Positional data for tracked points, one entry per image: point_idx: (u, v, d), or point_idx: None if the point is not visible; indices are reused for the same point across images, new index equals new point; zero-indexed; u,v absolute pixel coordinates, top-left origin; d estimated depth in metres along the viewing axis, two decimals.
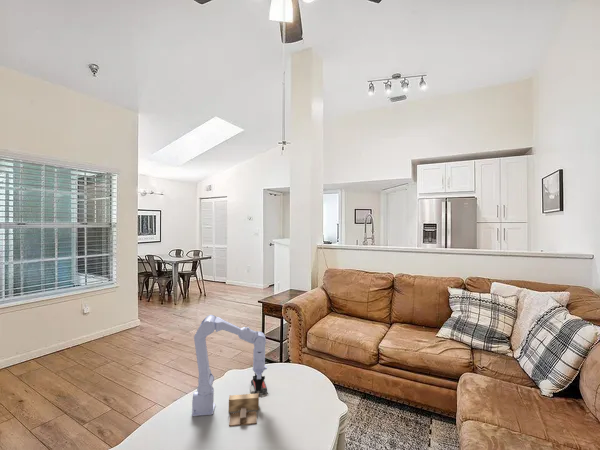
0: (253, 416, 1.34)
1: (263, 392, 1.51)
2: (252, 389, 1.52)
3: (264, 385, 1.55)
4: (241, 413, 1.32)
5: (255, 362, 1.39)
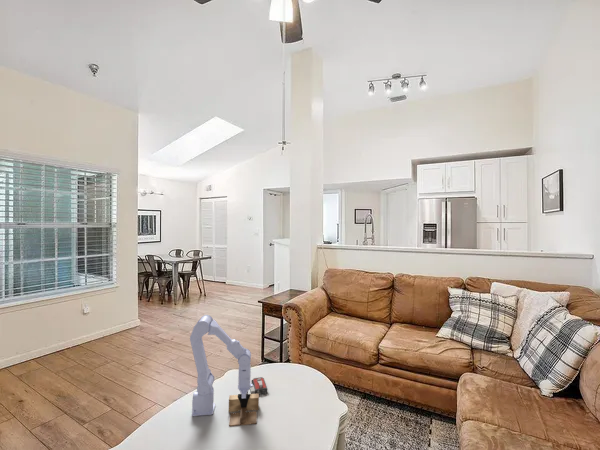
0: (253, 416, 1.34)
1: (263, 392, 1.51)
2: (252, 389, 1.53)
3: (264, 385, 1.55)
4: (241, 413, 1.32)
5: (240, 380, 1.37)
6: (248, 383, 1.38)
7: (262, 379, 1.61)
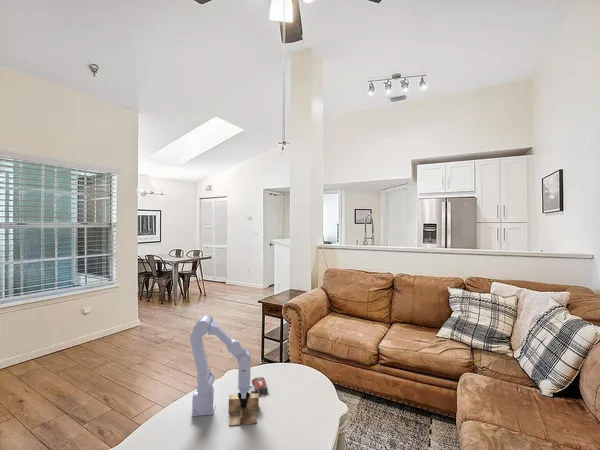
0: (253, 416, 1.34)
1: (263, 392, 1.52)
2: (252, 389, 1.53)
3: (265, 385, 1.55)
4: (241, 413, 1.32)
5: (240, 381, 1.37)
6: (248, 383, 1.38)
7: (262, 379, 1.61)
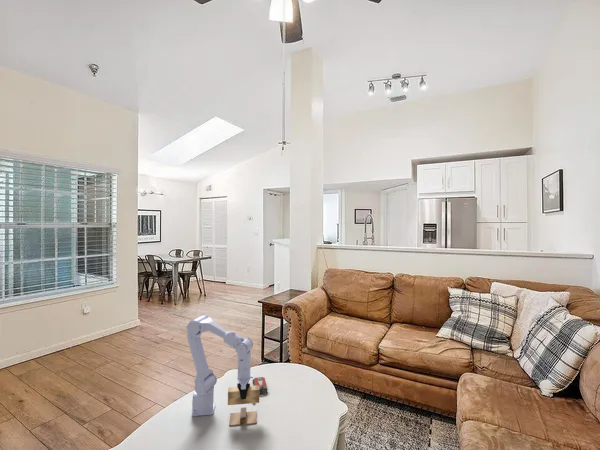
0: (253, 416, 1.34)
1: (263, 392, 1.52)
2: None
3: (264, 385, 1.55)
4: (241, 413, 1.32)
5: (240, 371, 1.30)
6: (248, 373, 1.31)
7: (263, 379, 1.61)
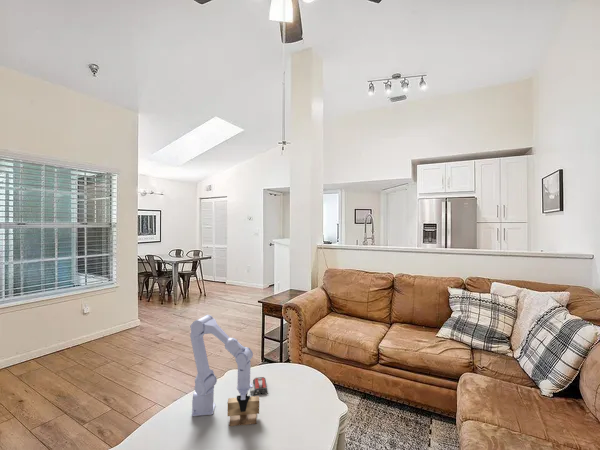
0: (253, 416, 1.34)
1: (263, 392, 1.52)
2: (252, 388, 1.53)
3: (264, 385, 1.55)
4: None
5: (239, 381, 1.30)
6: (248, 384, 1.31)
7: (263, 379, 1.61)
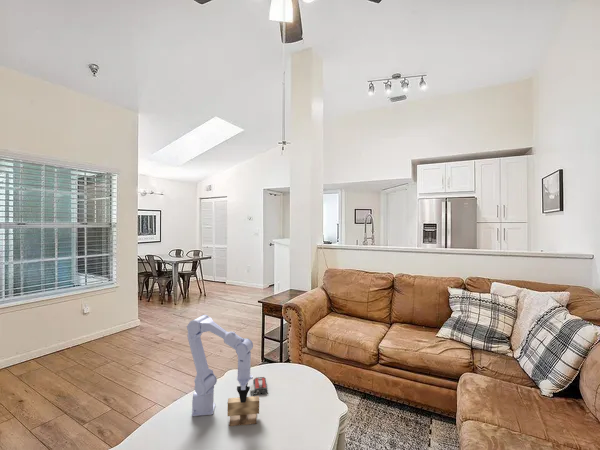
0: (253, 416, 1.34)
1: (263, 392, 1.52)
2: (252, 388, 1.53)
3: (264, 385, 1.55)
4: None
5: (239, 371, 1.30)
6: (248, 374, 1.31)
7: (263, 379, 1.61)
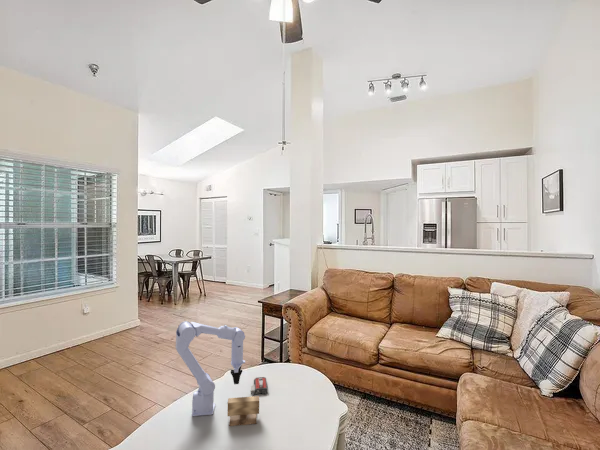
0: (253, 416, 1.34)
1: (263, 392, 1.52)
2: (253, 388, 1.53)
3: (265, 385, 1.55)
4: None
5: (233, 356, 1.43)
6: (241, 359, 1.44)
7: (264, 379, 1.61)
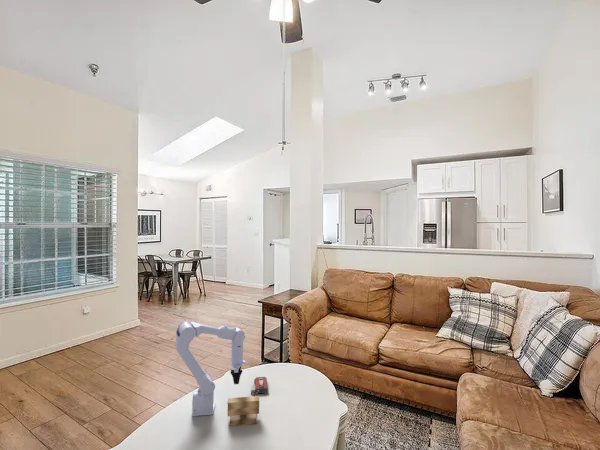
0: (253, 416, 1.34)
1: (263, 392, 1.52)
2: (253, 388, 1.54)
3: (265, 385, 1.55)
4: None
5: (233, 356, 1.43)
6: (241, 359, 1.44)
7: (264, 379, 1.61)
